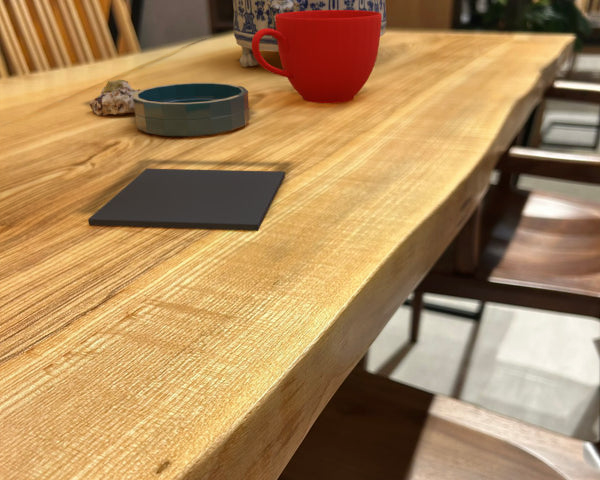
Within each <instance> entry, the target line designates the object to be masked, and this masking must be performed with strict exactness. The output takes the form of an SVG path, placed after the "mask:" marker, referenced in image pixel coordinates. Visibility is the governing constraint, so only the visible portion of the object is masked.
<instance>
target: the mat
mask: <svg viewBox="0 0 600 480" xmlns="http://www.w3.org/2000/svg"><path fill="white" fill-rule="evenodd" d="M285 177H286V172H285V171H283V170H281V171H277V170H270V171H269V170H238V169H237V170H236V169H235V170H233V169H232V170H231V169H187V168H182V169H181V168H145V169H144V170H143V171H142V172H141V173H139V174H138V175H137V176H136V177H135V178H134V179H133V180H131V181H130V182H129V183H128V184H127V185H126V186H124V187H123V188H122V189H121V190H120V191H119V192H117V193H116V194H115V195H114V196H113V197H112V198H111V199H110V200H108V201H107V202H106V203H105V204H103V206H101V207H100V208H99V209H98V210H97V211H95V212H94V213H93V214H92V215H91V216H89V218H88V219H87V221H88V225H89V226H92V227H93V226H94V227H96V226H98V227H128V228H153V229H154V228H156V229H157V228H158V229H186V230H215V231H216V230H217V231H245V232H247V231H250V232H258V231H259V230H260V228H261V226H262V224H263V222H264V220H265V218H266V216H267V214H268V212H269V210H270V208H271V206H272V204H273V202H274V200H275V198H276V196H277V194H278V191H279V190H280V188H281V186H282V184H283V182H284V180H285Z"/></svg>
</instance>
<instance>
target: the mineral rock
mask: <svg viewBox="0 0 600 480" xmlns="http://www.w3.org/2000/svg"><path fill="white" fill-rule="evenodd" d="M140 90H141V89H134V88H132V87H131V85H130V84H129V81H127V80H124V79H116V80H108V81H107V82H106V84H105V86H104V87H103V89H102V90H101V91H100V94H99V96H97V97H95V98H94V99H92V100H91V101H90V102H89V106H90V108H91V109H92V112H93V113H94V114H95V115H96V116H101V117H102V116H110V115H114V116H117V115H123V114H128V113H129V114H130V113H133V114H135V109H134V102H133V94H134V93H136V92H138V91H140Z"/></svg>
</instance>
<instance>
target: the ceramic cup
mask: <svg viewBox="0 0 600 480" xmlns="http://www.w3.org/2000/svg"><path fill="white" fill-rule="evenodd" d="M381 20H382V16H381V13H379V12H373V11H360V10H316V11H298V12H287V13H280V14H277V15H275V22H276V30H274V29H269V28H266V29H261V30H259V31H258V32H256V34H255V35H254V37H253V39H252V52H253V55H254V57H255V59H256V60H257V62H258V63H259V64H258V65H260V67H262V68H263V69H264V70H266V71H267V72H269V73H272V74H274V75H278V76H281V77H284V78H287V80H288V81H289V83H290V85H291V86H292V87H293V89H294V90H295V91H296V93H297V94H298V95H299V96H300V97H301V98H302V101H303V102H304V101H305V102H308V103H311V104H313V103H314V104H327V105H329V104H341V103H347V102H351V101H353V100H354V99H355V97H356V95H358V93H360V91H361V90H362V89H363V88H364V86H365V85H366V83H367V81H368V80H369V78H370V76H371V75H372V72H373V69H374V67H375V64H376V60H377V56H378V52H379V46H380V40H381V36H380V33H381ZM265 35H271V36H273V37H274V38H276V40H277V42H278V49H279V52H278V54H279V59H280V63H281V66H282V69H281V68H278V67H275V66H274V65H271V64H270V63H268V62H267V60H265V59H264V57H263V55H262V53H261V50H259V43H260V40H261V38H262V37H263V36H265Z"/></svg>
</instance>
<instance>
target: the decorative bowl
mask: <svg viewBox="0 0 600 480" xmlns="http://www.w3.org/2000/svg"><path fill="white" fill-rule="evenodd" d="M232 4H233V5H232V6H233V7H232V8H233V27H232V28H233V36H234V38H235V42H236V44H237V45H238V46H240V47H241V50H242V51H241V56H240V58H239V64H240V66H241V68H243V67H244V68H249V67H254V66H259V65H260V64H259V63H258V62H257V60H256V59H255V57H254V55H253V52H252V39H253V37H254V35H255V34H256V32H258V31H259V30H261V29H266V28H269V29H274V30H276V22H275V15H277V14H280V13H287V12H298V11H316V10H360V11H373V12H379V13H381V16H382V20H381V33H380V37H383V36H384V35H385V34H386V28H387V8H386V7H387V6H386V0H232ZM259 50H260V51H265V52H275V53H276V52H277V53H279V49H278V42H277V40H276V38H274V37H273V36H271V35H265V36H263V37H262V38H261V40H260V43H259Z"/></svg>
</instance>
